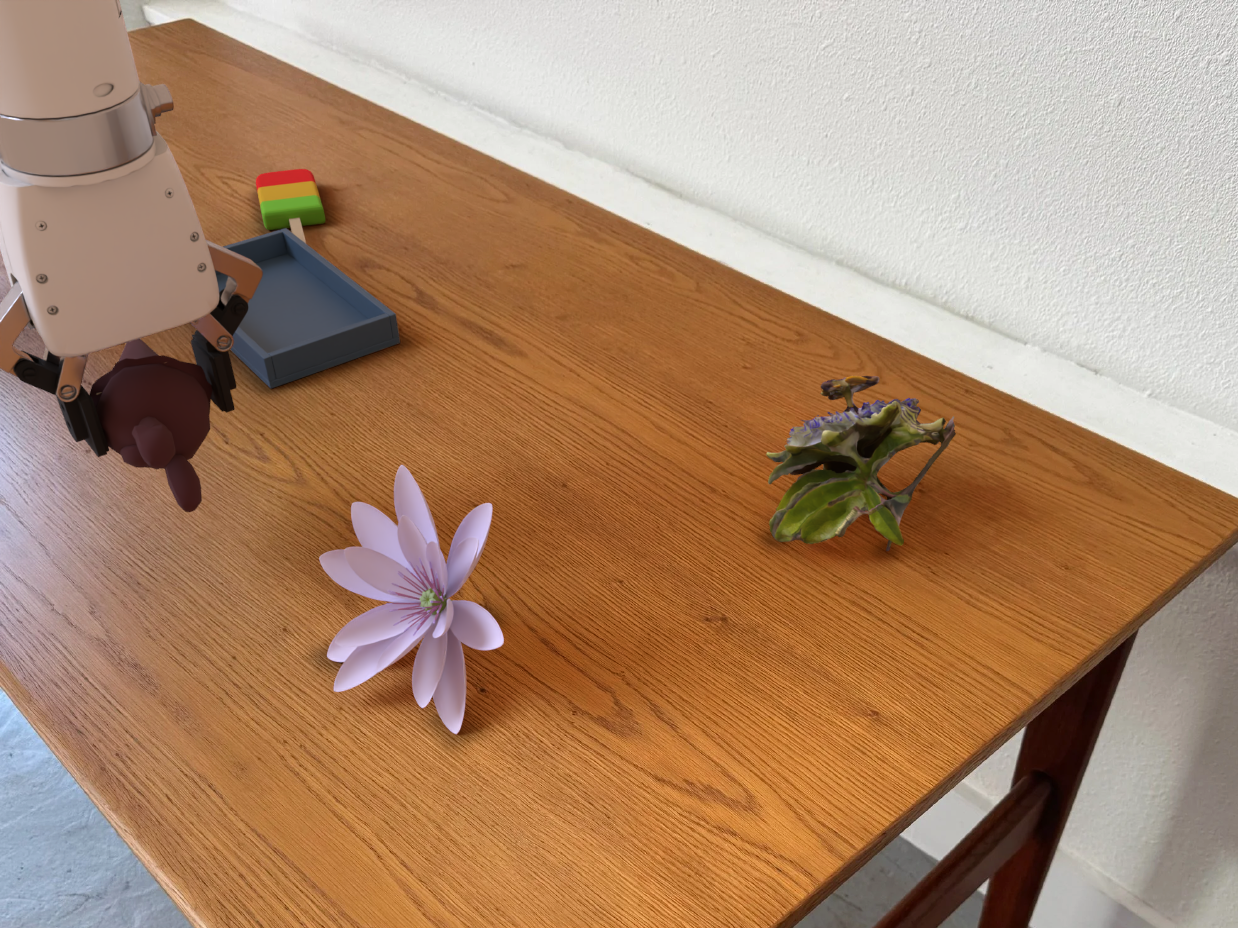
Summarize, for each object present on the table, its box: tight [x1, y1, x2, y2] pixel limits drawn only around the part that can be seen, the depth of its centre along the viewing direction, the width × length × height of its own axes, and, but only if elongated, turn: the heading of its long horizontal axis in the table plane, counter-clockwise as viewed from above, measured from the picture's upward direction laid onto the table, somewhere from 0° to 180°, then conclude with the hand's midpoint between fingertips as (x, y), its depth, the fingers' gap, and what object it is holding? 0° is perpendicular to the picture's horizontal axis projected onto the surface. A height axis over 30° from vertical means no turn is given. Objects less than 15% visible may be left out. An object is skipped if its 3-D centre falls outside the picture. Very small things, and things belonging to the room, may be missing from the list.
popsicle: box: [255, 168, 326, 244], centre depth 113 cm, size 6×15×2 cm, turn 17°
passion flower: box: [765, 375, 957, 552], centre depth 79 cm, size 11×11×12 cm
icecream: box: [89, 338, 212, 513], centre depth 74 cm, size 7×7×15 cm
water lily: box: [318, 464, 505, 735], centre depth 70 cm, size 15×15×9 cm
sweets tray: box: [215, 228, 401, 389], centre depth 100 cm, size 11×19×3 cm, turn 38°
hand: (158, 421), depth 75 cm, fingers closed on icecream, 7 cm apart
